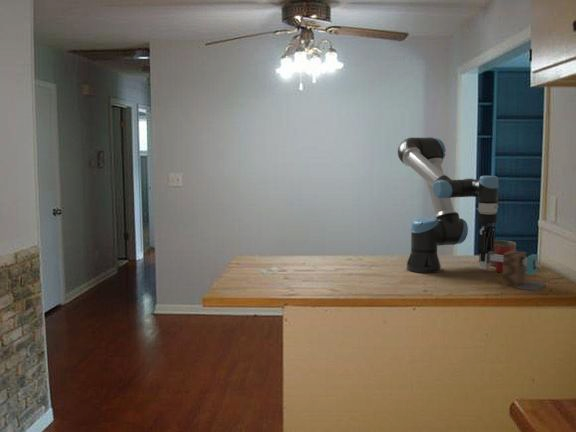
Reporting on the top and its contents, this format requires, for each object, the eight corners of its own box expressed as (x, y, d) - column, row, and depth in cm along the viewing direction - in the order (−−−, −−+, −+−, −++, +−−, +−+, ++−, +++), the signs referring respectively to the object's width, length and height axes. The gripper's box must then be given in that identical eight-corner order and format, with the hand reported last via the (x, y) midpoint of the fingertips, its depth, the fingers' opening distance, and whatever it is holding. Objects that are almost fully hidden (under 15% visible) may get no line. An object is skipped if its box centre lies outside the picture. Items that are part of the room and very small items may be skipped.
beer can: (512, 273, 260) (513, 247, 258) (496, 273, 261) (498, 246, 259) (510, 270, 266) (511, 244, 265) (494, 269, 267) (495, 243, 266)
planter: (520, 265, 276) (521, 242, 274) (503, 269, 269) (505, 245, 267) (497, 261, 286) (498, 239, 284) (481, 264, 279) (482, 241, 277)
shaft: (479, 262, 249) (479, 250, 248) (482, 260, 252) (483, 249, 251) (535, 270, 234) (536, 257, 233) (538, 268, 237) (539, 256, 236)
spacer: (526, 274, 235) (527, 256, 234) (531, 270, 240) (532, 254, 239) (531, 274, 234) (532, 257, 233) (537, 271, 239) (537, 254, 238)
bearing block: (502, 284, 241) (503, 253, 239) (509, 280, 247) (511, 250, 246) (517, 287, 237) (518, 255, 235) (524, 283, 244) (526, 252, 242)
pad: (516, 288, 235) (516, 286, 235) (526, 282, 245) (526, 281, 244) (536, 291, 231) (536, 289, 231) (545, 285, 240) (546, 283, 240)
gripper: (488, 215, 237) (486, 272, 240) (504, 211, 250) (501, 265, 253) (470, 214, 242) (468, 270, 245) (486, 210, 255) (484, 263, 258)
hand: (485, 267), depth 249 cm, fingers closed on shaft, 4 cm apart
